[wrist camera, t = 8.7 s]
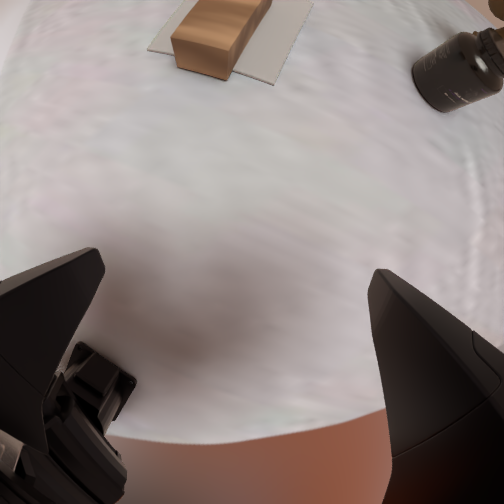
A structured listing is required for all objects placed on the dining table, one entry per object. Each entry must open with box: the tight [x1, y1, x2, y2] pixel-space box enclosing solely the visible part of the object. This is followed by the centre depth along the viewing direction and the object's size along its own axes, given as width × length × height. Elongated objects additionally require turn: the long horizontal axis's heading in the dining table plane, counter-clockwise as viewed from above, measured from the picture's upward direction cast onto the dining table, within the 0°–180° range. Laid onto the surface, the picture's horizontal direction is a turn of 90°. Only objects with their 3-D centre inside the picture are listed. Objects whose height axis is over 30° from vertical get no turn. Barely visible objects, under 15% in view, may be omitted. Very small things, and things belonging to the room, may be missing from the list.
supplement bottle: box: [413, 28, 504, 112], centre depth 16 cm, size 7×7×12 cm
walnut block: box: [170, 0, 273, 80], centre depth 17 cm, size 4×4×11 cm
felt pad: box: [147, 0, 314, 86], centre depth 19 cm, size 13×12×1 cm
